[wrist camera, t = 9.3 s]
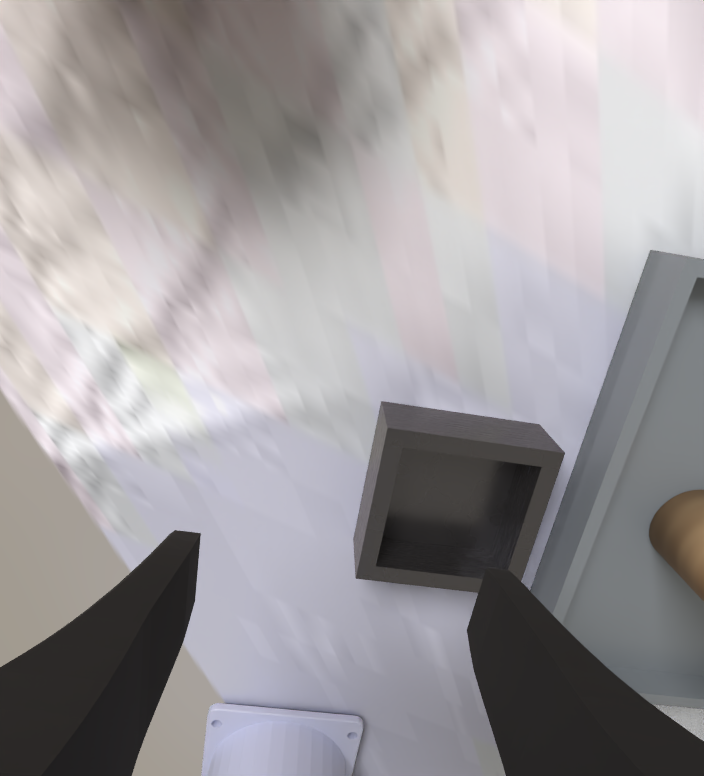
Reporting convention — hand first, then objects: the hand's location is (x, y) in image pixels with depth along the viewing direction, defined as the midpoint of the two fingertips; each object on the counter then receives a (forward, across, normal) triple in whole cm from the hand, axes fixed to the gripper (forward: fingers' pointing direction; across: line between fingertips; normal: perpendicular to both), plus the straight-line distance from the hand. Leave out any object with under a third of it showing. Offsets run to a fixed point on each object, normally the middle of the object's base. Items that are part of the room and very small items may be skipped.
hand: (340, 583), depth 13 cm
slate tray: (+9, -16, +1) cm, 19 cm away
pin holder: (+9, -5, +2) cm, 11 cm away
